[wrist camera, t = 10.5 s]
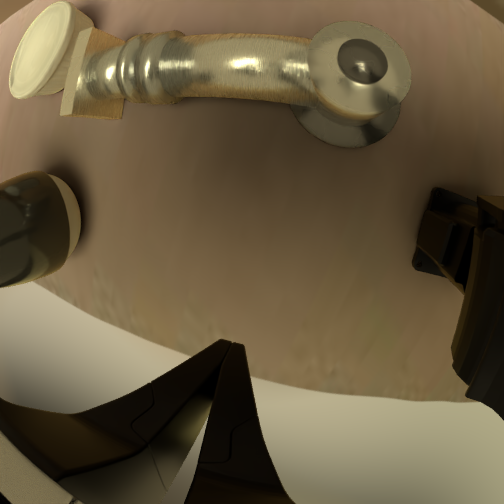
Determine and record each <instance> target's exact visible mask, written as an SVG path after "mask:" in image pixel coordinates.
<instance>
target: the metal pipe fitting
mask: <svg viewBox="0 0 504 504" xmlns="http://www.w3.org/2000/svg"><path fill="white" fill-rule="evenodd" d="M150 35H152V33H146V34H141V35H136V36H134V37H132V38H130V39H129V40H128V41H127V42H125V41H123V40H121V39H119V38H117V37H115V36H112V35H110V34H108V33H106V32H104V31H101V30H99V29H97V28H94V27H91V28H88V29H86V30H83V31H81V32H79V35H78V38H77V41H76V45H75V48H74V51H73V55H72V58H71V62H70V66H69V70H68V74H67V79H66V83H65V88H64V93H63V98H62V104H61V110H60V116H69V117H85V118H97V119H107V120H112V119H121V117H122V111H123V105H124V99H126V100H128V101H129V102H132V103H147V102H145V101H144V100H143V99H142V98H141V96H140V95H139V93H138V90H137V88H136V85H135V80H134V62H135V57H136V53H137V51H138V49H139V47H140V45H141V43H142V42H143V41H144V40H145V39H146V38H147V37H148V36H150ZM400 105H401V102H400V103H399V104H397V105H396V106H394V107H393V108H391V109H389V110H388V111H386V112H385V113H383V114H381V115H380V116H378V117H376V118H375V119H373V120H372V121H370V122H368V123H366V124H364V125H360V126H353V127H350V126H342V125H338V124H336V123H333V122H331V121H329V120H328V119H326V118H325V117H323V116H322V115H321V114H320V113H319V112H318V111H317V110H316V109H315V108H313V107H307V106H301V105H295V104H290V106H291V109H292V111H293V113H294V115H295V117H296V118H297V120H298V121H299V122H300V124H301V125H302V126H303V127H304V128H305V129H306V130H307V131H308V132H309V133H311V134H312V135H313V136H315V137H316V138H318V139H320V140H322V141H324V142H326V143H328V144H331V145H335V146H339V147H346V148H355V147H362V146H367V145H370V144H372V143H375V142H377V141H379V140H380V139H382V138H383V137H385V136H386V135H387V134H388V133H389V132H390V131H391V129H392V128H393V127H394V125H395V123H396V121H397V119H398V116H399V112H400Z"/></svg>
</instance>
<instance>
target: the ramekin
mask: <svg viewBox="0 0 504 504" xmlns="http://www.w3.org/2000/svg"><path fill="white" fill-rule="evenodd" d="M91 27H94V24H93V22H92V20H91V19H90V18H89V17H88V16H86V15H85V14H83V13H82V12H81V11H79V10H78V9H76V8H75V6H74V5H73V4H72V3H70V2H67V1H59V2H56V3H54V4H52V5H50V6H49V7H47V8H46V9H45V10H44V11H43V12H42V13H41V14H40V15H39V16H38V17H37V18H36V19H35V20H34V21H33V23H32V24H31V25H30V27H29V28H28V30H27V31H26V33H25V34H24V36H23V38H22V40H21V42H20V44H19V46H18V48H17V50H16V53H15V55H14V58H13V61H12V65H11V69H10V76H9V87H10V91H11V94H12V95H13V96H14V97H15V98H17V99H27V98H30V97H33V96H41V95H50V94H54V93H57V92H59V91H60V90H62V89H63V88H65V83H66V79H67V74H68V70H69V66H70V62H71V58H72V55H73V51H74V48H75V45H76V41H77V38H78V35H79V32H81V31H83V30H86V29H88V28H91Z"/></svg>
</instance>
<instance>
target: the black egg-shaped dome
mask: <svg viewBox="0 0 504 504" xmlns="http://www.w3.org/2000/svg"><path fill="white" fill-rule="evenodd" d="M80 229H81V216H80V210H79V206H78V202H77V200H76V197H75V195H74V193H73V192H72V190H71V189H70V187H69V186H68V185H67V184H66V183H65V182H64V181H62V180H61V179H59V178H58V177H56V176H53V175H49V174H46V173H45V172H42V171H32V172H27V173H24V174H21V175H18V176H16V177H13V178H11V179H9V180H6V181H4V182H2V183H0V288H4V287H10V286H15V285H20V284H24V283H27V282H31V281H34V280H37V279H40V278H42V277H45V276H48V275H50V274H52V273H54V272H56V271H57V270H59V269H60V268H61V267H62V266H63V265H64V263H65V261H66V260H67V259H68V258H69V256H70V255H71V254H72V252H73V251H74V249H75V247H76V245H77V242H78V239H79V235H80Z"/></svg>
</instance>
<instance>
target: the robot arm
mask: <svg viewBox="0 0 504 504" xmlns="http://www.w3.org/2000/svg"><path fill="white" fill-rule="evenodd" d="M438 191H439V193H440V195H439V196H438V197H437V195H436V193H437V192H438ZM417 245H418V246H417V249H416V252H415V255H414V258H413V261H412V266H413V267H414V268H415V270H417V271H422V272H426V273H430V274H434V275H438V276H442V277H446V278H448V279H449V280H450V281H451V282H452V283H453V284H454V285H455V286H456V287H457V288H458V289H459V290H460V291H461V292H462V294H463V295H464V300H463V304H462V308H461V313H460V316H459V320H458V324H457V328H456V331H455V334H454V338H453V342H452V345H451V351H452V357H453V360H454V362H453V364H452V367H453V369H454V370H455V372H456V373H457V375H458V376H459V377H460V378H461V379H462V380H463V381H464V382H465V383H466V384H467V385H468V386H469V387H468V389H467V391H466V393H465V396H466V397H467V398H470V399H473V400H476V401H479V402H481V403H483V404H485V405H487V406H489V407H490V408H492V409H493V410H494V411H495V412H496V413H497V414H499V416H500V417H501V418H502V419H503V420H504V196H486V195H477V203H476V202H474V201H472V200H470V199H467V198H465V197H462V196H460V195H458V194H455V193H453V192H450V191H448V190H445V189H442V188H439V187H435V188H433V190H432V192H431V197H430V201H429V206H428V210H427V211H426V212H425V214H424V218H423V222H422V225H421V229H420V232H419V236H418V239H417ZM419 261H420V265H418V266H417V263H418V262H419ZM208 415H209V417H208ZM207 417H208V421H207V425H206V429H205V434H204V438H203V442H202V446H201V450H200V454H199V458H198V464H197V467H196V471H195V475H194V478H193V481H192V484H191V486H190V489H189V491H188V494H187V497H186V499H185V502H184V504H296V503H295V502H294V501H292V499H291V498H290V497H289V496H288V494H287V492H286V491H285V489H284V487H283V485H282V483H281V481H280V479H279V477H278V474H277V472H276V470H275V467H274V465H273V462H272V460H271V458H270V455H269V453H268V450H267V447H266V444H265V441H264V438H263V435H262V431H261V427H260V422H259V418H258V414H257V408H256V403H255V398H254V394H253V388H252V383H251V378H250V372H249V367H248V362H247V356H246V351H245V346H244V345H243V344H240V343H236V342H233V343H232V342H231V341H228V340H225V339H219V340H218V341H216V342H215V343H213V344H212V345H210V346H208V347H207V348H205V349H204V350H202V351H201V352H199V353H197V354H196V355H194V356H193V357H191V358H189V359H188V360H186V361H185V362H183V363H181V364H180V365H178V366H176V367H175V368H173V369H172V370H170V371H168V372H166V373H165V374H163V375H162V376H160V377H158V378H156V379H155V380H153V381H151V383H148V384H146V385H144V386H142V387H141V388H139V389H137V390H135V391H133V392H131V393H129V394H127V395H125V396H123V397H120V398H118V399H115V400H113V401H110V402H108V403H105V404H103V405H100V406H97V407H94V408H92V409H89V410H86V411H83V412H79V413H73V414H63V413H56V412H50V411H44V410H39V409H34V408H29V407H24V406H20V405H16V404H12V403H10V402H8V401H5V400H3V399H2V398H0V504H160V503H161V501H162V500H163V498H164V496H165V494H166V492H167V491H168V489H169V487H170V486H171V484H172V482H173V480H174V478H175V477H176V475H177V473H178V471H179V470H180V468H181V466H182V464H183V462H184V460H185V459H186V457H187V455H188V453H189V451H190V449H191V447H192V446H193V444H194V442H195V440H196V438H197V436H198V435H199V433H200V430H201V429H202V427H203V425H204V423H205V421H206V419H207Z"/></svg>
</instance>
